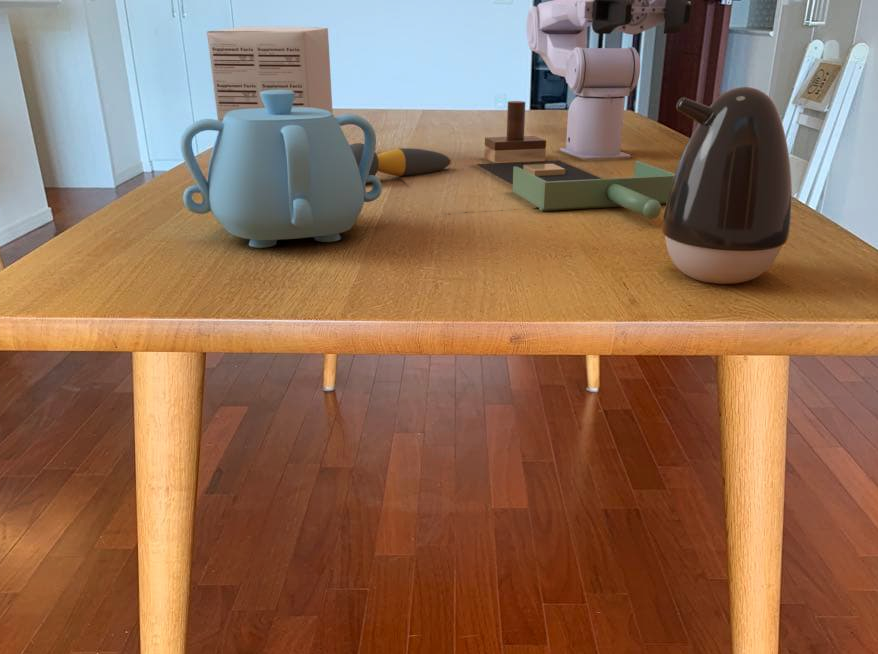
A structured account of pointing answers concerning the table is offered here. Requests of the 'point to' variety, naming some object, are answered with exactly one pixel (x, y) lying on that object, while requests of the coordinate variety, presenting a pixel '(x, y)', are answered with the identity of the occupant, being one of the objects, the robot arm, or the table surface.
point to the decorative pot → (282, 172)
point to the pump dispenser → (730, 190)
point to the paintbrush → (403, 161)
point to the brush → (515, 140)
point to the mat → (506, 174)
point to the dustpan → (598, 191)
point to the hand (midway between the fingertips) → (658, 13)
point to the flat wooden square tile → (544, 169)
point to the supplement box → (269, 66)
